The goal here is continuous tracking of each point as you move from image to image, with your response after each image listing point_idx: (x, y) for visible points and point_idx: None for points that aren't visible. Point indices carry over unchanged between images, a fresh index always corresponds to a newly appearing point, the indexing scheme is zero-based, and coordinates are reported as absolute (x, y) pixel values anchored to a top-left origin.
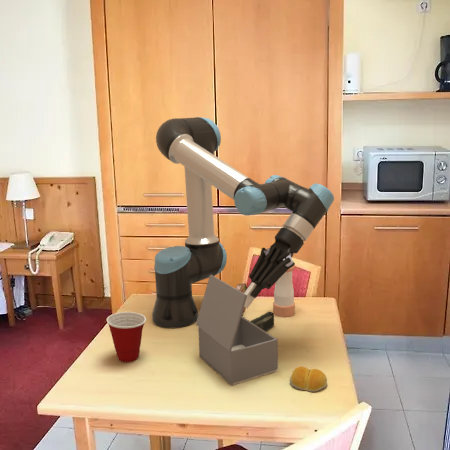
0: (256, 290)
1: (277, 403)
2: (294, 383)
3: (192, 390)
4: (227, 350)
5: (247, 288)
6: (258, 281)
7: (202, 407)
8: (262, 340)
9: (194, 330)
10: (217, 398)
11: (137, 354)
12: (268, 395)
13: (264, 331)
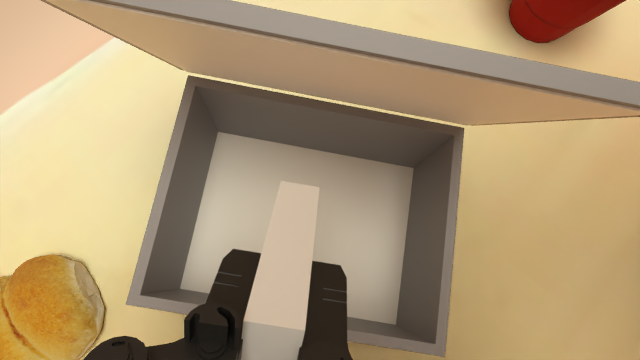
0: (211, 293)
1: (47, 159)
2: (47, 255)
3: None
4: (213, 81)
5: (338, 291)
6: (205, 348)
7: None
8: None
9: (599, 271)
10: None
11: (520, 19)
12: (95, 169)
13: None
